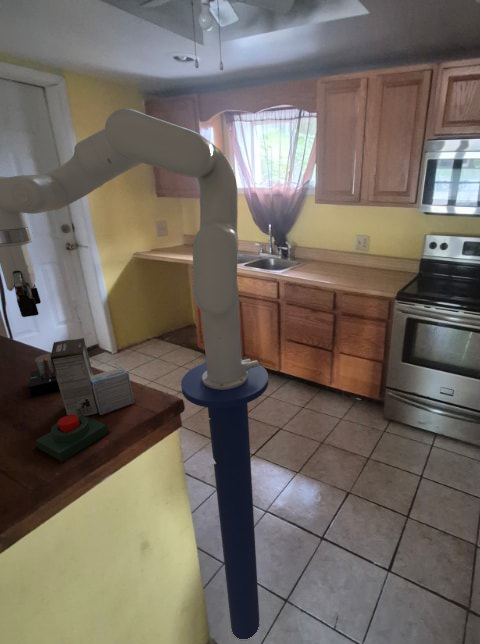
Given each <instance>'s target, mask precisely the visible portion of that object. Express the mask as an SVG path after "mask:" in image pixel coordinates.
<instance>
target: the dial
mask: <svg viewBox="0 0 480 644" xmlns="http://www.w3.org/2000/svg"><path fill="white" fill-rule="evenodd" d="M50 357H51V353H46V354H41V355H39V356H37V357H35V359H34V362H35V365H36V367H37V370H38V371H39V374H40V377H41V378H44V379H47V378H52V377H55V376H56V375H55V371H54V368H53V364H52V361H51V358H50Z"/></svg>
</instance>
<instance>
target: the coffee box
mask: <svg viewBox="0 0 480 644" xmlns="http://www.w3.org/2000/svg"><path fill="white" fill-rule="evenodd" d="M50 354H51V357H50V358H51V361H52V364H53V368H54V371H55V375H56V378H57V381H58V385H59V388H60V395H61V398H62V402H63V405H64V409H65V412H66V416H68V415H77V416H81V415H84V416H86V417H88V416H91V415H95V414H99V412H98V408H97V405H96V401H95V397H94V393H93V389H92V385H91V376H93V375H94V372H93V368H92V365H91V364H92V363H91V361H90V357H89V353H88V347H87V344H86V341H85V337H82V338H81V337H80V338H76V339H75V338H74V339H65V340H59V341H54V342H53V344H52V348H51V352H50Z"/></svg>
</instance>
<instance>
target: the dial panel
mask: <svg viewBox="0 0 480 644" xmlns="http://www.w3.org/2000/svg"><path fill="white" fill-rule="evenodd" d="M28 389H29V393H30V395H31V398H32V397H38V396H41V395H46V394H51V393H55V392H59V391H60V388H59V385H58V381H57V378H56V376H55V377H52V378H47V379H44V378H41V377H40V374H39V371H38V369H37V370H32V371H30V374H29V382H28Z"/></svg>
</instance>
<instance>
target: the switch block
mask: <svg viewBox="0 0 480 644" xmlns="http://www.w3.org/2000/svg"><path fill="white" fill-rule="evenodd" d="M78 419H79V422H80V425H79V427H78V428H76V429H74V430H71V431H68V432H62V431H60V428H59V425H58V421H57V422H56V423H55V424H53V426H51V429H50V430H51V431H50V432H48V433H46V434H44V435H43V436H41V437H39V438H37V439H35V443H36V445H37V448H38V450H40V451H42V452H44V453H45V454H47V455H49V456H50V457H53V458H54V459H56V460H58V461H60V462H62V463H64V461H66V460H68V459H69V458H71V457H73V456H75V454H77V453H79V452H81V451H82V450H84V449H85V448H87V447H89V446H90V445H91V444H93V443H95V442H96V441H98V440H100V439H101V438H102V437H104V436H106V435H107V434H108V429H107V426H106V424H105V423H102V422H100V421H98V420H95V419H93V418H91V417H89V416H84V415H81V416H78Z"/></svg>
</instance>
